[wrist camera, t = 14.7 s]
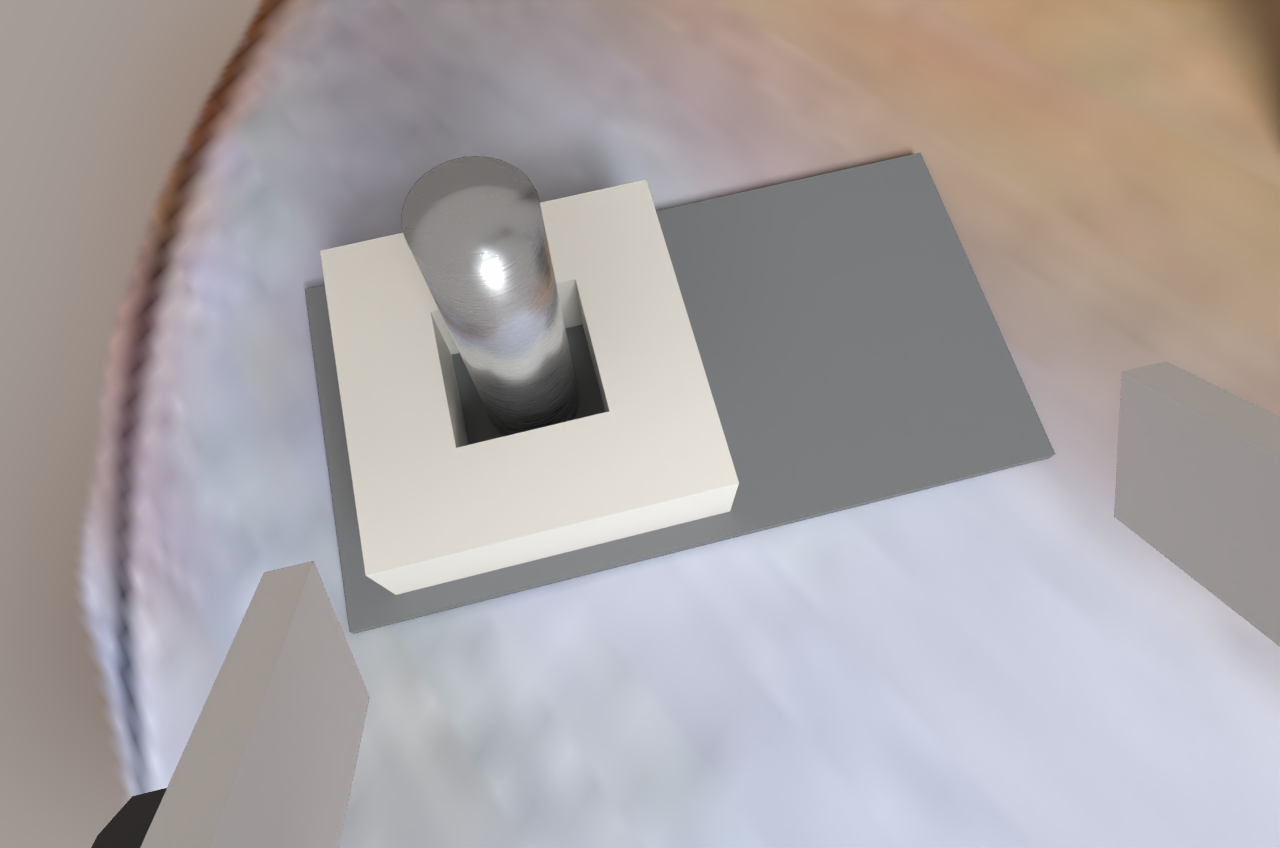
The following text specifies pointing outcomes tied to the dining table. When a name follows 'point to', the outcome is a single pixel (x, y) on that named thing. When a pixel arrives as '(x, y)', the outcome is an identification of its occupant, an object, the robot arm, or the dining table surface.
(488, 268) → the pin
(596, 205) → the hole block
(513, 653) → the dining table surface
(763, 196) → the mat
